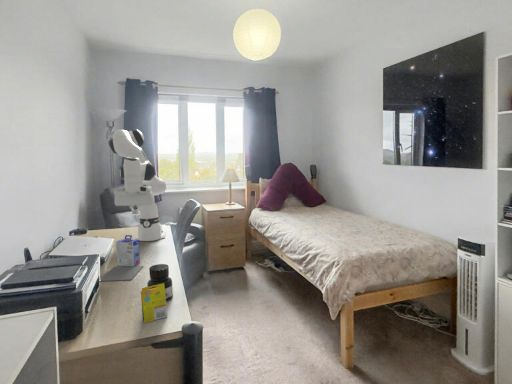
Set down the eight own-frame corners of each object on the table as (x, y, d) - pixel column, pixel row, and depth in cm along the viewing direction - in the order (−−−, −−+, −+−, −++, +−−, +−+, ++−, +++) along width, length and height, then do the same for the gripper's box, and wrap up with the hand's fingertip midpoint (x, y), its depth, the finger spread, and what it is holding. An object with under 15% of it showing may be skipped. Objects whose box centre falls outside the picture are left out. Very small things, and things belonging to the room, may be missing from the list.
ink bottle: (148, 305, 111) (146, 273, 110) (146, 296, 119) (144, 265, 118) (176, 300, 115) (174, 268, 114) (172, 291, 123) (170, 261, 122)
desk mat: (114, 267, 151) (114, 266, 151) (143, 266, 152) (143, 265, 152) (97, 281, 134) (97, 280, 134) (131, 280, 135) (130, 279, 135)
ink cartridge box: (141, 262, 158) (139, 234, 156) (134, 266, 152) (132, 237, 151) (123, 262, 159) (121, 234, 158) (116, 265, 154) (114, 237, 152)
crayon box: (165, 313, 105) (163, 280, 104) (167, 317, 103) (165, 283, 101) (142, 319, 102) (139, 285, 100) (143, 323, 99) (141, 288, 98)
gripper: (111, 189, 162) (113, 215, 164) (151, 188, 163) (152, 214, 164) (116, 187, 168) (118, 213, 170) (154, 186, 169) (156, 212, 171)
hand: (135, 213), depth 167 cm, fingers closed
